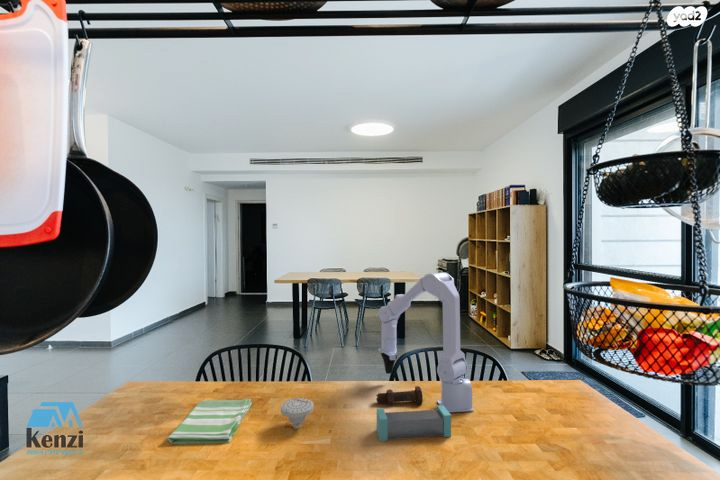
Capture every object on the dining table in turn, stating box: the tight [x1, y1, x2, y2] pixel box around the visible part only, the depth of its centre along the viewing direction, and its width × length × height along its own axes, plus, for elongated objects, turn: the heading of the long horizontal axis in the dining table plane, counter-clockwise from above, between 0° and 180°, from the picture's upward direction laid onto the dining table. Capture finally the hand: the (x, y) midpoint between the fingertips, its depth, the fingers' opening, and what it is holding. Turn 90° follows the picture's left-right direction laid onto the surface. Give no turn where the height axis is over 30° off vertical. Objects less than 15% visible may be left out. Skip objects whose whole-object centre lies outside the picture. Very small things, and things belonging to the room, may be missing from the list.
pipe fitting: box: [376, 404, 452, 442], centre depth 101 cm, size 20×6×6 cm, turn 97°
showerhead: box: [280, 397, 314, 429], centre depth 104 cm, size 9×7×10 cm
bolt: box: [375, 385, 424, 406], centre depth 120 cm, size 6×5×15 cm
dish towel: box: [166, 398, 253, 445], centre depth 107 cm, size 18×23×3 cm
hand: (388, 372), depth 136 cm, fingers closed
